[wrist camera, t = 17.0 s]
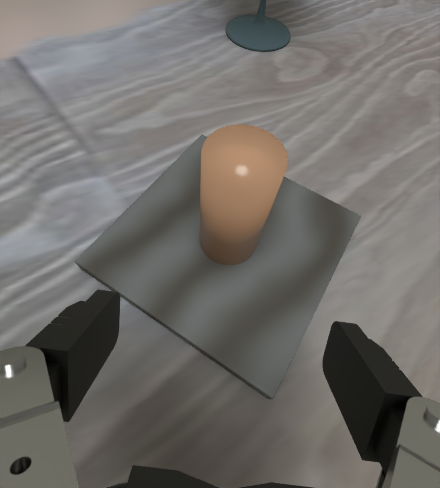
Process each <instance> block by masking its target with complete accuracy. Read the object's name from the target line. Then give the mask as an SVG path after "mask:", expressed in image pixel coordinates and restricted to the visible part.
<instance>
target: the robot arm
mask: <svg viewBox="0 0 440 488" xmlns="http://www.w3.org/2000/svg"><path fill="white" fill-rule="evenodd" d="M119 316H120V294H119V292H113V291H105V290H97V291H96V292H95V293H94V294H93V295H92V296H91V297H90V298H89V299H88V300H87V301H86V302H85V301H79V302H77V303H75V304H73V305H70V306H68V307H67V308H66V309H65V310H63V311H62V312H61V313H60V314H59V315H58V317H56V318H55V319H54V320H53V321H52V322H51V324H48V325H47V326H46V327H45V328H44V329H43V330H42V331H41V332H40V333H39V334H37V335H36V336H35V337H34V338H33V339H32V340H31V341H30V342H29V343H28V344H27V345H26V346H21V347H13V348H9V349H5V350H2V351H0V488H79V485H78V481H77V476H76V472H75V468H74V464H73V459H72V455H71V451H70V447H69V443H68V438H67V434H66V430H65V426H64V422H63V421H65V422H69V421H70V419H71V418H72V416H73V414H74V413H75V411H76V409H77V408H78V406H79V404H80V403H81V401H82V399H83V398H84V396H85V394H86V393H87V391H88V390H89V388H90V386H91V385H92V383H93V381H94V380H95V378H96V376H97V375H98V373H99V371H100V370H101V368H102V366H103V365H104V363H105V361H106V360H107V358H108V356H109V355H110V353H111V351H112V350H113V348H114V346H115V344H116V341H117V338H118V333H119ZM323 372H324V375H325V377H326V380H327V382H328V384H329V386H330V389H331V391H332V393H333V395H334V398H335V400H336V402H337V404H338V407H339V409H340V411H341V413H342V416H343V418H344V420H345V422H346V425H347V427H348V429H349V431H350V434H351V436H352V438H353V440H354V443H355V445H356V447H357V449H358V452H359V454H360V456H361V458H362V460H365V461H373V462H380V464H381V466H382V470H381V473H380V475H379V478H378V481H377V485H376V488H440V403H439V402H436V401H434V400H431V399H428V398H424V397H422V395H421V394H420V393H419V392H418V391H417V389H416V388H415V387H414V386H413V384H412V383H411V382H410V381H409V380H408V378H407V377H406V376H405V375H404V373H403V372H402V371H401V370H399V367H398V366H397V365H396V364H395V362H394V361H392V359H391V357H390V356H389V355H388V354H387V353H386V351H385V350H384V349H383V348H382V347H380V346H379V345H378V344H376V343H375V342H374V341H372V340H371V339H368V338H367V336H366V335H365V334H364V333H363V331H362V330H361V329H360V327H359V326H358V325H357V324H354V323H346V322H338V321H335V322H334V323H333V324H332V326H331V330H330V333H329V337H328V341H327V345H326V348H325V352H324V356H323ZM107 488H218V487H216V486H213V485H211V484H209V483H206V482H204V481H201V480H199V479H196V478H194V477H192V476H189V475H187V474H184V473H182V472H180V471H175V470H167V469H159V468H151V467H143V466H135V465H133V466H132V469H131V473H130V476H129V479H128V482H127V483H122V484H117V485H114V486H110V487H107ZM241 488H312V487H304V486H296V485H288V484H280V483H272V482H271V483H265V484H259V485H253V486H247V487H241Z"/></svg>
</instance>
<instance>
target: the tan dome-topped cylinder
mask: <svg viewBox="0 0 440 488" xmlns="http://www.w3.org/2000/svg"><path fill="white" fill-rule="evenodd" d="M287 166H288V156H287V152H286V150H285V148H284V146H283V144H282V143H281V142H280V141H279V140H278V139H277V138H276V137H275V136H274V135H272V134H271V133H269V132H268V131H265V130H263V129H261V128H258V127H255V126H250V125H230V126H226V127H223V128H220V129H218V130H216V131H215V132H213V133H212V134H210V135H209V136H208V138H207V139H206V140H205V142H204V144H203V146H202V150H201V185H200V235H199V240H200V245H201V248H202V250H203V252H204V253H205V254H206V256H207V257H209V258H210V259H211V260H213V261H214V262H217V263H219V264H223V265H236V264H240V263H242V262H244V261H246V260H247V259H249V258H250V257H251V256H252V254H253V253H254V251H255V249H256V246H257V244H258V241H259V238H260V236H261V233H262V231H263V228H264V226H265V223H266V221H267V218H268V216H269V213H270V210H271V208H272V205H273V203H274V200H275V198H276V195H277V193H278V190H279V188H280V185H281V183H282V180H283V177H284V175H285V172H286V170H287Z"/></svg>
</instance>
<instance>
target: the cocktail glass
mask: <svg viewBox="0 0 440 488" xmlns="http://www.w3.org/2000/svg"><path fill="white" fill-rule="evenodd" d="M265 6H266V0H261V2H260V6H259V10H258V13H257V15H243V16H239V17H236V18H234V19H232V20H230V21H229V22H228V24H227V26H226V33H227V35H228V37H229V38H230V39H231V40H232V41H233V42H234V43H235V44H237V45H239V46H241V47H243V48H246V49H249V50H254V51H274V50H278V49H280V48H283V47H284V46H286V45H287V44H288V42H289V40H290V32H289V30H288V29H287V27H286V26H285V25H283V24H282V23H281V22H279V21H277V20H275V19H272V18H270V17H266V16H265Z"/></svg>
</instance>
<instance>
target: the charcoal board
mask: <svg viewBox="0 0 440 488" xmlns="http://www.w3.org/2000/svg"><path fill="white" fill-rule="evenodd" d="M207 138H208V137H206V136H204V135H201V136H200V137H199V138H198V139H197V140H196V141H195V142H194V143H193V144H192V145H191V146H190V147H189V148H188V149H187V150H186V151H185V152H184V153H183V154H182V155H181V156H180V157H179V158H178V159H177V160H176V161H175V162H174V163H173V164H172V165H171V166H170V167H169V168H168V169H167V170H166V171H165V172H164V173H163V174H162V175H161V176H160V177H159V178H158V179H157V180H156V181H155V182H154V183H153V184H152V185H151V186H150V187H149V188H148V189H147V190H146V191H145V192H144V193H143V194H142V195H141V196H140V197H139V198H138V199H137V200H136V201H135V202H134V203H133V204H132V205H131V206H130V207H129V208H128V209H127V210H126V211H125V212H124V213H123V214H122V215H121V216H120V217H119V218H118V219H117V220H116V221H115V222H114V223H113V224H112V225H111V226H110V227H109V228H108V229H107V230H106V231H105V232H104V233H103V234H102V235H101V236H100V237H99V238H98V239H97V240H96V241H95V242H94V243H93V244H92V245H90V246H89V247H88V248H87V249H86V250H85V251H84V252H83V253H82V254H81V255H80V256H79V257H78V258H77V259H76V260H75V263H76V264H77V265H78V266H79V267H80V268H81V269H82V270H84V271H85V272H86V273H88V274H89V275H91V276H92V277H94V278H95V279H96V280H98V281H99V282H101V283H102V284H104V285H105V286H107V287H108V288H109V289H111V290H112V291H114V292H119V294H120V296H121V297H122V298H124V299H125V300H127V301H128V302H130V303H131V304H133V305H134V306H135V307H137V308H138V309H140V310H141V311H143V312H144V313H145V314H147V315H148V316H150V317H151V318H153V319H154V320H156V321H157V322H158V323H160V324H161V325H163V326H164V327H166V328H167V329H169V330H170V331H171V332H173V333H174V334H176V335H177V336H179V337H180V338H181V339H183V340H184V341H186V342H187V343H189V344H190V345H192V346H193V347H194V348H196V349H197V350H199V351H200V352H202V353H203V354H205V355H206V356H207V357H209V358H210V359H212V360H213V361H215V362H216V363H217V364H219V365H220V366H222V367H223V368H225V369H226V370H228V371H229V372H230V373H232V374H233V375H235V376H236V377H238V378H239V379H241V380H242V381H243V382H245V383H246V384H248V385H249V386H251V387H252V388H254V389H255V390H256V391H258V392H259V393H261V394H262V395H264V396H265V397H266V398H268V399H273V398H274V396H275V394H276V392H277V390H278V388H279V386H280V384H281V382H282V379H283V377H284V375H285V373H286V371H287V369H288V367H289V365H290V363H291V361H292V359H293V357H294V355H295V352H296V350H297V348H298V346H299V344H300V342H301V340H302V338H303V336H304V334H305V332H306V330H307V328H308V325H309V323H310V321H311V319H312V317H313V315H314V313H315V311H316V309H317V307H318V305H319V303H320V301H321V298H322V296H323V294H324V292H325V290H326V288H327V286H328V284H329V282H330V280H331V278H332V276H333V274H334V271H335V269H336V267H337V265H338V263H339V261H340V259H341V257H342V255H343V253H344V251H345V249H346V247H347V244H348V242H349V240H350V238H351V236H352V234H353V232H354V230H355V228H356V226H357V224H358V222H359V220H360V217H361V216H360V215H358V214H356V213H354V212H352V211H350V210H348V209H346V208H344V207H342V206H340V205H339V204H337V203H335V202H333V201H331V200H329V199H327V198H325V197H323V196H321V195H319V194H317V193H315V192H313V191H311V190H309V189H307V188H305V187H303V186H301V185H299V184H297V183H296V182H294V181H292V180H290V179H288V178H286V177H283V180H282V183H281V185H280V188H279V190H278V193H277V195H276V198H275V200H274V203H273V205H272V208H271V210H270V213H269V216H268V218H267V221H266V223H265V226H264V228H263V231H262V233H261V236H260V238H259V241H258V244H257V246H256V249H255V251H254V253H253V254H252V256H251V257H250V258H249V259H247V260H246V261H244V262H242V263H240V264H236V265H223V264H219V263H217V262H214V261H213V260H211V259H210V258H209V257H207V256H206V254H205V253H204V252H203V250H202V248H201V245H200V240H199V235H200V185H201V150H202V146H203V144H204V142H205V140H206V139H207Z"/></svg>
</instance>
